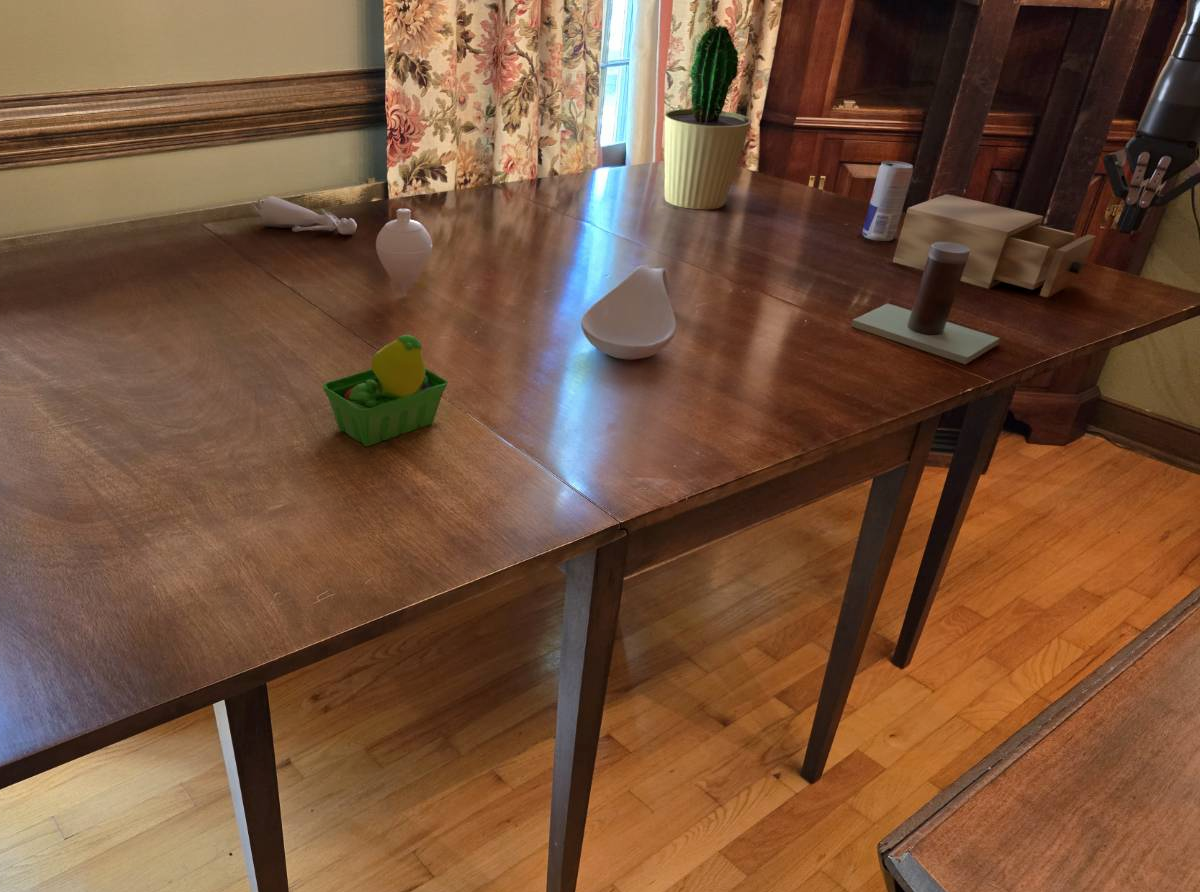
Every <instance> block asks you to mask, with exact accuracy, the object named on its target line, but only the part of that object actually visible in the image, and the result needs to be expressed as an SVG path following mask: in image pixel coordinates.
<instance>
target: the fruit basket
mask: <svg viewBox="0 0 1200 892" xmlns="http://www.w3.org/2000/svg"><path fill="white" fill-rule="evenodd" d="M447 385H448V381H447V380H446V379H445V378H442V377H440V376H439V375H438V374H436V373H434V372H432V371H431V370H430V369H427V368H426V362H425V359H424V357H423V352H422V343H421V342H420V340H419V339H418V338H417V337H416V336H413V335H410V334H403V335H400V336H398V337H397V339H395V340H393V341H391V342H390V343H388V344H386V345H385V346H382V347H381V348H380V349H379V350H377V351H376V353H375V354H374V355H373V357H372V360H371V367H370V369H368V370H364V371H360V372H357V373H353V374H351V375H348V376H345V377H341V378H337V379H335V380H331V381H328V382H325V383H323V384H322V388H323V391H324V393H325V395H326V397H327V398H328V401H329V404H330V406H331V409H332V412H333V415H334V418H335V420H336V421H335V422H336V424H337V427H338V429H339V430H340V431H342V432H344V433H346V435H348V436H349V437H351V438H352V439H354V440H355V441H357V442H359V443H361V444H362V445H363V446H365V447H367V448H368V447H370V446H374V445H376V444H379V443H380V442H382V441H387V440H390V439H392V438H396V437H398V436H400V435H403V434H404V435H405V434H407V433H410V432H412V431H416V430H417V429H419V428H424V427H427V426H430V425H432V424H433V423H434V421H435V417H436V416H437V415H436V414H437V411H438V409H439V406H440V402H441V399H442V396H443V393H444V392H445V390H446V388H447Z"/></svg>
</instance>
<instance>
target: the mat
mask: <svg viewBox="0 0 1200 892" xmlns="http://www.w3.org/2000/svg"><path fill="white" fill-rule="evenodd" d="M911 311H912V309H907V308H904V307H901V306H898V305H894V304H891V303H885V304H883V305H881V306H879V307H877V308H875V309H872V310H871V311H869V312H866V313H864V314H862V315H860V316H858V317H855V318H854V319H852V321H851V325H850V327H851V328H855V329H857V330H860V331H863V332H865V333H869V334H873V335H876V336H878V337H880V338H881V337H882V338H884V339H888V340H890V341H893V342H896V343H899V344H902V345H905V346H908V347H912V348H914V349H917V350H921V351H923V352H926V353H930V354H932V355H935V356H939V357H941V358H944V359H948V360H950V361H953V362H956V363H959V364H962V365H967V364H969V363H970V362H972V361H973V360H975V359H977V358H978V357H980V356H982V355H983V354H985V353H987V352H989V351H990V350H992V349H993V348H996V347H997V346H998V345H999V342H1000V337H997V336H996V335H995V336H994V335H991V334H989V333H985V332H982V331H979V330H975V329H972V328H970V327H969V328H968V327H966V326H962V325H959V324H955V323H952V322H949V321H947V323H946V326H945V329H944V332H943V333H942V334H939V335H925V334H920V333H917V332H914V331H912V330H910V329H909V328H908V326H907V324H908V321H909V318H910V315H911Z"/></svg>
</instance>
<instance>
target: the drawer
mask: <svg viewBox="0 0 1200 892" xmlns="http://www.w3.org/2000/svg"><path fill="white" fill-rule="evenodd" d="M1076 237H1077V234H1076V233H1073V232H1069V231H1065V230H1061V229H1056V228H1052V227H1049V226H1044V225H1036V224H1035V225H1033V226H1031V227H1028V228H1026V229H1024V230H1022V231H1020V232H1017V233H1015V234H1013V235H1011V236H1009V237H1008V239H1007V242H1006V245H1005V248H1004V250H1003V253H1002V256H1001V259H1000V262H999V265H998V268H997V271H996V273H995V276H994V279H995V280H999V281H1002V282H1003V283H1006V284H1010V285H1013V286H1017V287H1021V288H1025V289H1029V290H1032V291H1034V290H1035V289H1037V288H1039V287H1041V286H1042V288H1041V290H1040V292H1039V296H1040V297H1044V298H1047V299H1048V298H1050V297H1051V296H1053V295H1055V294H1057V293H1058V292H1060V291H1062V290H1064V289H1065V288H1067V287H1068V286H1070V285H1073V284H1074V283H1075V282H1077V281H1079V280H1080V277H1081V274H1082V272H1083V269H1084V267H1085V264H1086V263H1087V260H1088V257H1089V255H1090V252H1091V250H1092V248H1093V245H1094V243H1095V239H1096V237H1097V236H1096V235H1094V234H1089V233H1087V234H1085V235H1083V236H1081V237H1079V238H1077V239H1076ZM1002 282H1001V283H1002Z"/></svg>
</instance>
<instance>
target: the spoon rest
mask: <svg viewBox="0 0 1200 892" xmlns="http://www.w3.org/2000/svg"><path fill="white" fill-rule="evenodd" d="M669 289H670V288H669V281H668V275H667V270H666V269H665V268H664V267H661V268H660V267H659V268H652V267H648V266H646V265H644V264H641V265H638V266H637V267H636V268H634V270H633V271H632V272H631V273H630V274H629V275H628V276H627V277H626V278H625V279H624V280H623V281H621V282H620V283H619V284H618V285H617V286H615V287H614V288H613V289H612V290H610V291H609V292H607V293H606V294H605V295H603V296H602V297H601V298H600V299H599V300H597V301H596V302H595V303H594V304H593V305H591V307H590V308H588V309H587V310H586V311H585V312H584V314H583V315H582V317H581V319H580V328H581V330H582V333H583V335H584V337H585V338H586V339H587V341H588V342H589V343H590V344H591V345H592V346H593V347H594V348H595V349H597V350H598V351H599V352H601V353H602V354H605V355H607V356H609V357H612V358H615V359H620V360H627V361H628V360H629V361H632V360H640V359H646V358H649V357H652V356H654V355H656V354H658V353H659V352H661V351H662V350H664V348H666V347H667V346H668V345H669V344H670V342H671V341H672V339H673V338H674V336H675V334H676V332H677V320H676V316H675V312H674V310H673V307H672V304H671V301H670V299H669V297H670V296H669V292H670V290H669Z"/></svg>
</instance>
